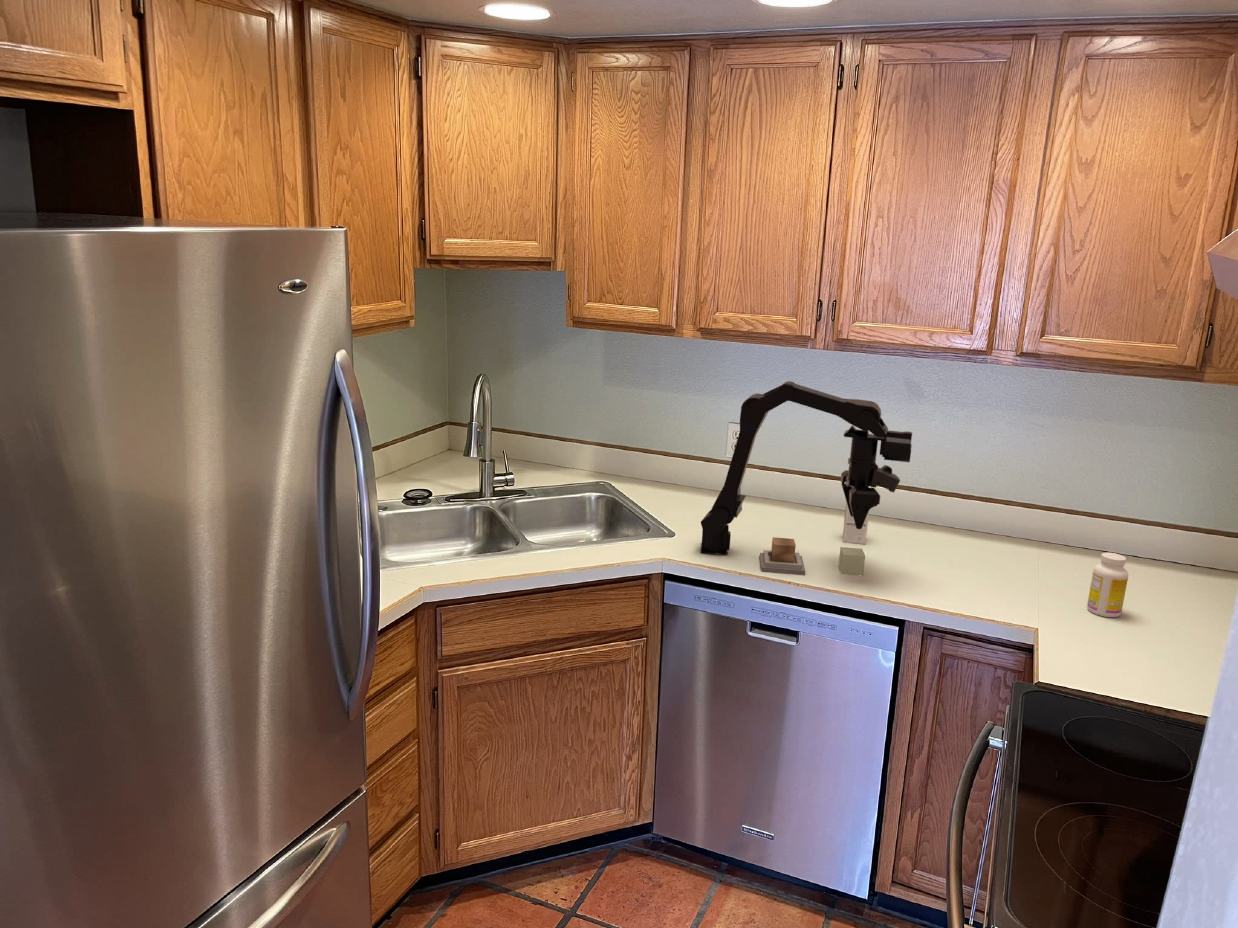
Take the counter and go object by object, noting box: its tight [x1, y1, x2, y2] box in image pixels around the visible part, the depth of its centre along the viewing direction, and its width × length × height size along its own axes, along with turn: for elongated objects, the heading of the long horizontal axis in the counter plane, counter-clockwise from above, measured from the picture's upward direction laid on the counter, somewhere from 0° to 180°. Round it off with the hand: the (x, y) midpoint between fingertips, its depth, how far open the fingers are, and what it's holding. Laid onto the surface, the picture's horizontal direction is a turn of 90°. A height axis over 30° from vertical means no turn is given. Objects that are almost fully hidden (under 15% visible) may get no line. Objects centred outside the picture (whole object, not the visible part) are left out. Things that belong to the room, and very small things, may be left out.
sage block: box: [837, 546, 866, 577], centre depth 214 cm, size 5×5×5 cm
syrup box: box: [842, 486, 871, 545], centre depth 234 cm, size 6×6×14 cm
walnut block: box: [770, 536, 797, 563], centre depth 215 cm, size 5×5×5 cm
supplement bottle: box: [1086, 552, 1129, 618], centre depth 196 cm, size 7×7×13 cm
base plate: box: [759, 549, 806, 576], centre depth 216 cm, size 10×10×2 cm
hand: (855, 522), depth 211 cm, fingers open, 9 cm apart
